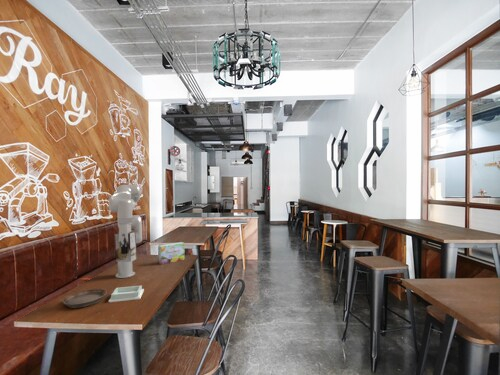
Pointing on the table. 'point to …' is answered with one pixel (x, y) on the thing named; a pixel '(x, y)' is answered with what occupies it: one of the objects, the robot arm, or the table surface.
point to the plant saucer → (84, 298)
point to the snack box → (170, 253)
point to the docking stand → (126, 293)
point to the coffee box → (130, 247)
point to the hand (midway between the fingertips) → (126, 251)
